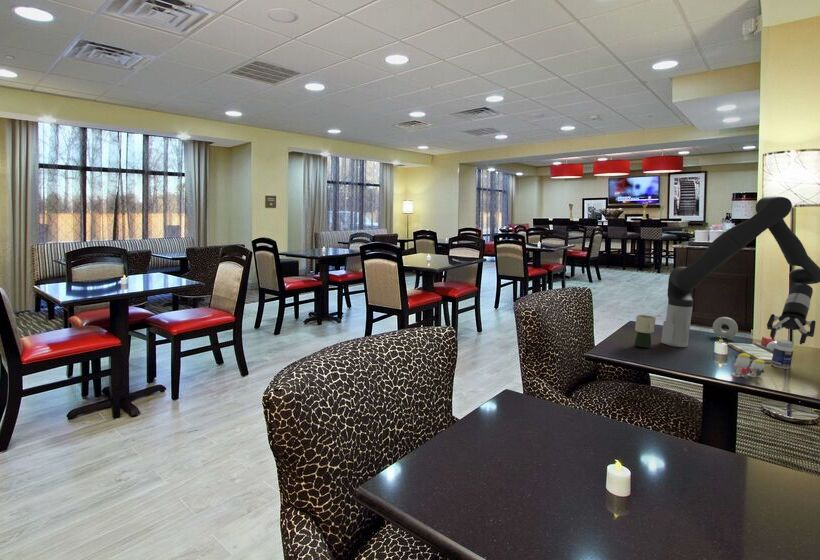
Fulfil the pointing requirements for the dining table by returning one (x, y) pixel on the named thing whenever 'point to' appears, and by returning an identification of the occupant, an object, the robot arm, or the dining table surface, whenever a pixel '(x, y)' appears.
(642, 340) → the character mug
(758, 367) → the toy figures
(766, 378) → the dining table surface
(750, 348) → the game track
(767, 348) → the dice dome
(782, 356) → the pill bottle
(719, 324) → the donut
